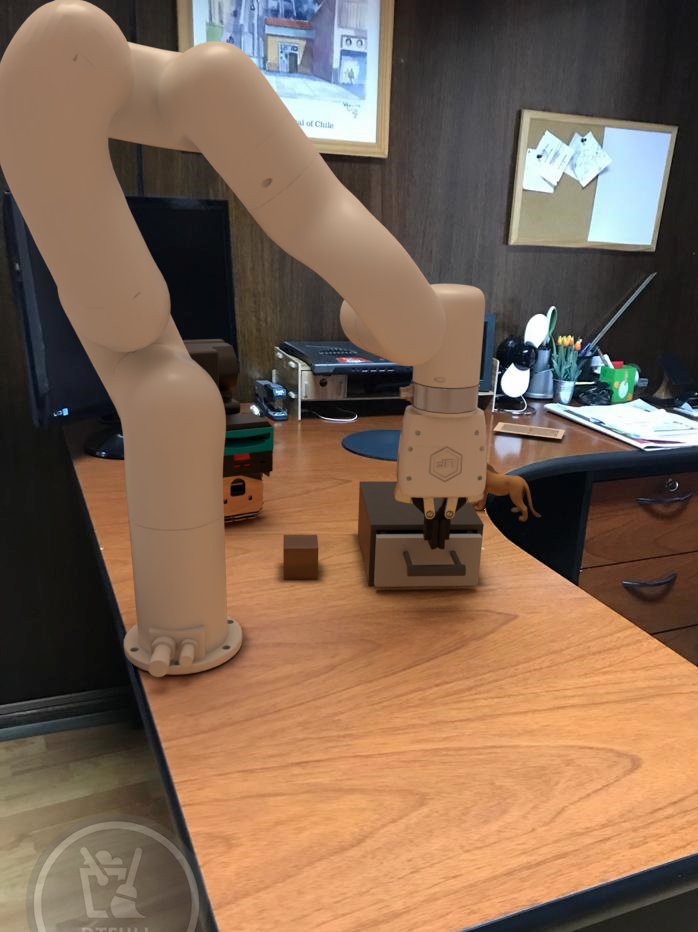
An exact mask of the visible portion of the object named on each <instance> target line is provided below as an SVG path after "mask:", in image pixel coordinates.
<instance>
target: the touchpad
mask: <svg viewBox="0 0 698 932" xmlns="http://www.w3.org/2000/svg"><path fill="white" fill-rule="evenodd" d="M493 431H494V432H495V431H496V432H503V433H511V434H518V435H519V434H520V435H526V436H535V437H542V438H550V439H560V440H562V439H563V436H564V434H565V431H566V430H565V429H560V428H558V429H557V428H553V427H552V428H551V427H545V426H544V427H543V426H535V425H531V424H529V425H527V424H518V423H511V422H510V423H509V422H500V421H499V422H498V423H497V424H496V426H495V427H494V429H493Z"/></svg>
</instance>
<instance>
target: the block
mask: <svg viewBox="0 0 698 932" xmlns="http://www.w3.org/2000/svg"><path fill="white" fill-rule="evenodd" d="M282 547H283V550H282V551H283V553H282V555H283V564H282V566H283V567H282V568H283V580H319V539H318V534H283V543H282Z"/></svg>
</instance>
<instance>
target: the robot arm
mask: <svg viewBox="0 0 698 932" xmlns="http://www.w3.org/2000/svg"><path fill="white" fill-rule="evenodd" d="M109 139H114V140H119V141H125V142H130V143H135V144H140V145H146V146H151V147H156V148H163V149H168V150H169V149H170V150H177V151H183V152H190V153H192V152H193V153H200V154H202V156H204V158H205V159H206V160H207V161H208V163H209V164H210V165H211V166H212V168H213V169H214V171H215V172H216V173H217V174H219V176H220V177H221V178H222V180H223V181H224V182H225V184H227V186H228V188H230V190H231V191H232V192H233V194H234V195H235V196H236V197H237V198H238V200H239V201H240V202H241V204H242V205H243V206H244V207H245V208H246V211H248V213H249V214H250V215H251V217H252V218H253V219H254V220H255V222H256V223H257V224H258V226H259V227H260V229H262V231H263V233H265V234H266V235H267V237H268V238H270V240H271V241H272V242H274V243H275V244H276V245H277V246H278V247H279V248H280V249H282V250H283V251H284V252H285V253H286V254H288V255H289V256H291V257H293V258H294V259H296V260H297V261H299V262H300V263H301V264H303V265H305V266H306V267H308V268H309V269H311V270H312V271H313V272H315V273H316V274H317V275H319V277H321V278H322V279H323V280H324V281H325V282H327V284H329V285H330V286H331V287H332V288H333V289H334V290H335V291H336V292H337V294H339V296H340V297H341V298H342V299H343V302H342V303H341V306H340V312H339V322H340V325H341V329H342V331H343V333H344V335H345V336H346V337H347V339H348V340H349V341H350V342H351V343H352V344H353V345H354V346H356V347H358V348H359V349H361V350H362V351H366V352H368V353H369V354H372V355H375V356H377V357H379V358H380V357H381V358H382V359H385V360H387V361H389V362H391V363H394V364H395V365H399V366H403V367H412V379H411V381H410V383H409V385H406V386H400V387H399V391H398V392H399V393H398V397H399V400H405V401H409V403H410V404H411V405H407V406H406V407H405V410H404V414H403V418H402V422H401V428H400V434H399V440H398V450H397V457H396V471H395V474H396V482H397V484H396V488H395V491H394V497H395V499H396V500H397V501H400V502H404V503H409V504H414V505H415V506H416V507H417V508H418V509H419V510H420V511H421V512H422V513H423V514H424V527H423V538H424V540H428V543H429V546H430V548H431V550H433V549H436V548H437V547H438V548H439V549H444V548H445V540H449V537H450V523H451V518H453V517H454V515H455V513H456V512H457V511H458V510H459V509H460V508H461V507H462V506H463V505H465V504H466V503H471V504H472V503H474V502H478V501H479V500H482V499H483V497H484V495H483V491H484V489H485V484H486V464H487V463H488V461H487V460H488V459H487V458H488V457H487V455H488V454H487V452H488V451H487V450H488V449H487V445H488V444H487V441H488V440H487V425H486V416H485V411H484V410H483V409H481V408H479V407H478V404H479V390H480V380H481V379H480V378H481V365H482V364H481V363H482V353H483V338H484V328H485V327H484V326H485V314H486V297H485V294H484V292H483V291H482V290H481V289H480V288H478V287H476V286H473V285H470V284H469V285H468V284H460V283H433V284H430V283H429V281H428V279H427V278H426V277H425V275H424V274H423V272H422V271H421V270H420V268H419V266H418V265H417V264H416V262H415V261H414V259H413V258H412V257H411V255H410V254H409V252H408V251H407V250H406V249H405V248H404V247H403V245H402V244H401V243H400V242H399V241H398V240H397V238H396V237H395V236H394V235H393V234H392V233H391V231H389V230H388V229H387V228H386V227H385V226H384V225H383V223H382V222H380V221H379V220H378V219H377V218H376V217H375V216H374V215H373V214H372V213H371V212H370V211H369V209H367V208H366V206H364V204H363V203H362V202H361V201H360V200H359V199H358V198H357V197H356V196H355V195H354V194H353V193H352V192H351V191H350V190H349V189H348V188H347V187H346V186H345V185H344V184H343V183H342V182H341V181H340V180H339V178H337V176H336V175H335V173H334V172H333V171H332V170H331V168H330V167H329V165H328V164H327V163H326V161H325V159H324V158H323V156H321V154H320V152H319V151H318V149H316V146H315V145H314V144H313V143H312V141H311V140H310V138H309V137H308V135H307V134H306V132H304V130H303V128H302V127H301V126H300V124H299V123H298V122H297V120H296V119H295V117H294V116H293V114H292V113H291V111H290V110H289V109H288V108H287V106H286V103H284V102H283V100H282V99H281V97H280V96H279V95H278V93H277V91H276V90H275V89H274V87H273V86H272V84H271V83H270V82H269V80H268V79H267V77H266V76H265V74H264V73H263V72H262V71H261V69H260V68H259V66H258V65H257V64H256V62H254V60H253V59H252V58H251V56H249V55H248V54H247V53H246V52H245V51H243V50H242V49H241V48H239V47H238V46H237V45H234V44H232V43H230V42H226V41H222V40H210V41H209V40H208V41H205V42H202V43H198V44H195V45H194V46H191V47H190V48H188V49H187V50H185V51H184V52H179V51H173V50H167V49H161V48H157V47H152V46H148V45H142V44H138V43H135V42H131V41H127V39H126V37H125V35H124V33H123V31H122V30H121V28H120V27H119V25H118V24H117V23H116V22H115V21H114V20H113V18H112V17H111V16H110V15H108V13H107V12H105V11H104V10H102V9H101V8H99V7H98V6H97V5H95V4H92V3H91V2H88V1H86V0H53V1H50V2H47V3H45V4H43V5H41V6H40V7H38V8H37V9H36V10H34V11H33V12H32V13H31V14H30V15H29V16H28V17H27V18H26V19H25V21H24V22H23V23H22V24H21V26H20V27H19V28H18V29H17V31H16V32H15V34H14V35H13V37H12V38H11V40H10V42H9V44H8V45H7V47H6V49H5V51H4V53H3V56H2V57H1V60H0V168H1V171H2V173H3V175H4V178H5V181H6V183H7V187H8V188H9V190H10V192H11V195H12V197H13V199H14V201H15V203H16V206H17V207H18V209H19V212H20V213H21V215H22V217H23V219H24V222H25V224H26V225H27V228H28V230H29V233H30V235H31V236H32V238H33V241H34V243H35V245H36V247H37V249H38V251H39V253H40V255H41V257H42V259H43V261H44V263H45V265H46V266H47V268H48V270H49V272H50V275H51V276H52V279H53V281H54V283H55V285H56V287H57V294H58V299H59V302H60V305H61V307H62V308H63V311H64V313H65V315H66V317H67V318H68V320H69V323H70V324H71V326H72V328H73V330H74V331H75V334H76V335H77V337H78V340H79V341H80V343H81V345H82V347H83V349H84V351H85V353H86V355H87V357H88V359H89V361H90V363H91V364H92V366H93V368H94V370H95V372H96V373H97V375H98V377H99V379H100V381H101V382H102V384H103V386H104V388H105V391H106V392H107V393H108V396H109V398H110V401H111V402H112V404H113V405H114V408H115V411H116V412H117V415H118V417H119V419H120V423H121V430H122V439H123V440H122V441H123V453H124V454H123V456H124V457H123V458H124V480H125V482H124V483H125V484H124V485H125V498H126V509H127V511H126V512H127V518H128V529H129V531H128V532H129V541H130V553H131V554H130V555H131V565H132V578H133V590H134V601H135V603H134V604H135V614H136V623H135V624H134V625H133V626H132V627H131V628H129V630H128V631H127V632H126V633H125V636H124V639H123V650H124V655H125V657H126V659H127V660H128V661H129V662H130V663H131V664H132V665H134V666H135V667H137V668H139V669H141V670H143V671H147V672H148V673H149V674H150V675H151V676H153V677H156V678H161V677H164V676H166V675H169V676H170V675H171V676H172V675H173V676H174V675H176V676H177V675H189V674H196V673H200V672H204V671H207V670H211V669H213V668H216V667H218V666H220V665H222V664H224V663H226V662H227V661H229V660H230V659H231V658H233V657H234V656H235V655H236V654H237V653H238V652H239V651H240V649H241V647H242V644H243V629H242V627H241V624H240V623H239V622H238V621H237V620H236V619H235V618H233V617H231V615H228V598H227V597H228V596H227V595H228V593H227V592H228V591H227V569H226V568H227V567H226V563H227V562H226V537H225V536H226V535H225V534H226V533H225V522H224V509H223V456H224V445H225V434H226V415H225V408H224V403H223V400H222V397H221V394H220V391H219V389H218V387H217V385H216V384H215V382H214V381H213V379H212V378H211V376H210V375H209V374H208V373H207V372H206V371H205V370H204V369H203V368H202V367H201V366H200V365H199V364H197V363H196V362H195V361H194V360H193V359H191V357H190V355H189V353H188V351H187V349H186V347H185V345H184V343H183V341H182V340H183V338H182V336H181V334H180V332H179V330H178V328H177V326H176V323H175V321H174V319H173V317H172V314H171V307H172V306H171V305H172V304H171V294H170V292H169V287H168V284H167V282H166V280H165V278H164V275H163V274H162V272H161V270H160V269H159V267H158V265H157V263H156V261H155V260H154V258H153V256H152V253H151V252H150V249H149V248H148V246H147V243H146V241H145V239H144V236H143V235H142V232H141V231H140V229H139V226H138V224H137V222H136V220H135V218H134V216H133V214H132V212H131V209H130V207H129V205H128V202H127V199H126V196H125V194H124V191H123V189H122V187H121V184H120V182H119V180H118V177H117V174H116V172H115V170H114V166H113V162H112V160H111V154H110V148H109ZM434 498H442V501H441V507H440V508H439V510H437V512H436V511H435V508H434Z"/></svg>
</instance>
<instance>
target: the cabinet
mask: <svg viewBox="0 0 698 932" xmlns="http://www.w3.org/2000/svg"><path fill="white" fill-rule="evenodd" d="M396 484H397V480H396V481H394V480H393V481H391V480H390V481H389V480H388V481H387V480H386V481H384V480H383V481H381V480H380V481H379V480H377V481H375V480H373V481H372V480H371V481H368V480H367V481H366V480H365V481H364V480H363V481H361V480H360V481H359V486H358V487H359V488H358V489H359V490H358V518H357V538H358V543H359V548H360V552H361V557H362V562H363V566H364V567H363V568H364V572H365V577H366V580H367V584H368V585H367V586H375V585H374V572H375V549H376V534H377V530H423V527H424V514H423V513H422V512H421V511H420V510H419V509H418V508H417V507H416V506H415V505H414V504H409V503H404V502H400V501H397V500H396V499H395V497H394V491H395V488H396ZM441 501H442V498H434V508H435V511H436V512H437V510H439V508H440V507H441ZM484 526H485V525H484V522H483V521H482V519H481V517H480V516H479V513H477V510H475V509H474V506H473V505H472V502H471V503H466V504H465V505H463V506H462V507H461V508H460V509H459V510H458V511H457V512H456V513H455V515H454V517H453V518H451V523H450V530H472V531H473V532H472V534H481V536H482V538H484V537H483V536H484Z"/></svg>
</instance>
